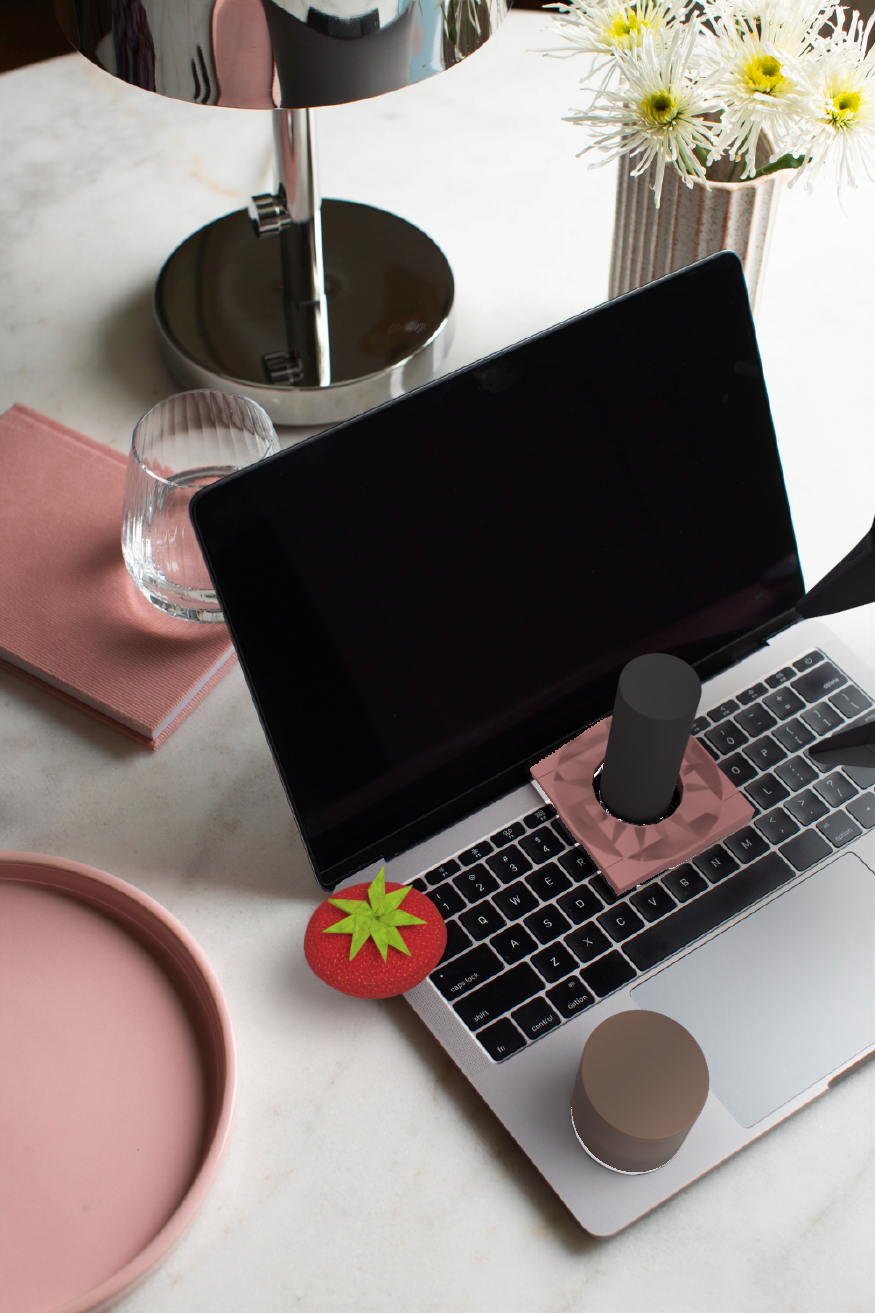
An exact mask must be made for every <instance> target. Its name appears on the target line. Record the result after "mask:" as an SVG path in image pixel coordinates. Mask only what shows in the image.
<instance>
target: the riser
mask: <svg viewBox="0 0 875 1313" xmlns="http://www.w3.org/2000/svg"><path fill="white" fill-rule="evenodd" d="M709 1072H710V1071H709V1066H708V1063H707V1059H706V1057H705V1054H704V1052H703V1050H702V1048H701V1046H700V1044H699V1043H698V1041H697V1040H696V1039H695V1037H694V1036H693V1035H692V1034H691V1032H689V1031H688V1030H687V1028H685V1027H684V1026H683V1025H681V1023H679V1022H678V1021H676V1020H674V1019H673V1018H671V1017H669V1016H667V1015H665V1014H663V1013H661V1012H656V1011H653V1010H647V1009H630V1010H625V1011H621V1012H618V1013H615V1014H613V1015H611V1016H609V1017H607V1018H606V1019H604V1020H603V1021H602V1022H600V1024H598V1025H597V1026H596V1027H595V1028H594V1029H593V1031H592V1032H591V1034H590V1035H589V1037H588V1039H587V1040H586V1042H585V1045H584V1047H583V1050H582V1053H581V1057H580V1062H579V1065H578V1070H577V1073H576V1078H575V1081H574V1086H573V1089H572V1093H571V1097H572V1100H571V1099H570V1104H571V1107H572V1108H571V1109H572V1116H573V1121H574V1125H575V1128H576V1131H577V1133H578V1135H579V1137H580V1138H581V1140H582V1141H583V1143H584V1145H585V1146H586V1147H587V1148H588V1150H589V1151H590V1152H591V1153H592V1154H593V1155H594V1156H595V1157H596V1158H598V1159H599V1160H600V1161H602V1162H603V1163H605V1164H607V1165H609V1166H611V1167H613V1168H616V1169H617V1170H621V1171H626V1172H646V1171H649V1170H653V1169H656V1168H659V1167H660V1166H662V1165H664V1164H666V1163H667V1162H668V1161H669V1160H670V1159H671V1160H672V1159H673V1158H674V1157H675V1156H676V1155H677V1153H678V1152H679V1151H680V1149H681V1147H682V1145H683V1144H684V1142H685V1141H686V1139H687V1137H688V1136H689V1133H690V1132H691V1130H692V1129H693V1127H694V1125H695V1124H696V1122H697V1121H698V1119H699V1117H700V1115H701V1114H702V1111H703V1109H704V1108H705V1106H706V1103H707V1099H708V1096H709V1092H710V1073H709ZM677 1151H678V1152H677ZM675 1154H676V1155H675ZM674 1155H675V1156H674ZM673 1156H674V1157H673ZM672 1157H673V1158H672ZM671 1160H670V1161H671ZM670 1161H669V1162H670ZM669 1162H668V1163H669ZM668 1163H667V1164H668ZM667 1164H666V1165H667Z"/></svg>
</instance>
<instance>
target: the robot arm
mask: <svg viewBox="0 0 875 1313" xmlns="http://www.w3.org/2000/svg"><path fill="white" fill-rule="evenodd" d="M873 603H875V514H874V516H873V520H872V523H871V526H870V528H869V530H868V531H867V532H866V533H865V535H864V536H862V538H861V539H860V540H859V541H858V543H857V544H856V545H854V547H853V548H852V549H851V550H850V551H849V552H848V553H847V554H846V555H845V556H844V557H843V558H842V559H841V560H840V561H839V562H838V563H837V564H836V565H834V566H833V567H832V569H830V570H829V571H828V572H827V573H826V574H825V575H824V576H823V577H822V578H821V579H820V580H819V581H817V583H815V585H814V586H813V587H811V588H810V589H809V590H808V592H806V593H805V594H804V595H803V596H802V597H801V598H800V599H799V600H798V601H797V602H796V603H795V605H794V609H795V612H796V613H797V614H798V615H799V616H800V617H801V618H802V619H804V620H809V619H814V618H819V617H826V616H830V615H831V616H832V615H835V614H838V613H842V612H846V611H849V610H852V609H855V608H859V607H862V606H866V605H870V604H873ZM807 754H808V757H810V758H811V759H812V760H813V761H815V762H816V763H817V764H821V765H830V766H831V765H833V766H844V767H852V768H853V767H854V768H864V769H865V768H866V769H875V720H872V721H869V722H867V723H864V724H861V725H857V726H855V727H852V728H850V729H847V730H844V731H842V732H838V733H836V734H833V735H830V736H828V737H827V738H824V739H822V740H821V741H819V742H816V743H815V744H812V745H811V746H809V747H808V749H807Z"/></svg>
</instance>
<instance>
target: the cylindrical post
mask: <svg viewBox="0 0 875 1313" xmlns="http://www.w3.org/2000/svg"><path fill="white" fill-rule="evenodd" d="M702 687H703V686H702V682H701V679H700V677H699V675H698V674H697V672H696V671H695V669H694V668H693V667H692V666H691V665H690V664H689V663H687V661H684V660H683V659H681V658H678V657H677V656H674V655H671V654H667V653H662V652H660V653H659V652H654V653H653V652H652V653H645V654H642V655H639V656H637V657H634V658H633V659H632V660H630V661H629V662H628V663H627V664H625V666H624V667H623V669H622V670H621V672H620V674H619V678H618V683H617V689H616V693H615V700H614V706H613V711H612V715H611V716H612V721H611V726H610V732H609V737H608V743H607V748H606V753H605V759H604V764H603V769H602V770H601V776H600V780H599V786H600V789H599V788H598V791H599V790H600V795H601V799H602V802H603V803H604V805H605V807H606V808H607V809H608V811H609V812H610V813H611V815H613V816H614V817H615V818H617V819H621V820H623V821H625V822H629V823H634V824H639V825H643V824H649V823H652V822H653V823H654V822H656V821H657V820H659V819H660V818H662V817H663V816H664V815H665V814H666V812H667V811H668V812H669V809H670V807H671V806H670V805H671V803H672V799H673V795H674V792H675V789H676V782H677V778H678V775H679V771H680V768H681V765H682V761H683V758H684V754H685V751H686V747H687V744H688V740H689V737H690V734H692V730H693V726H694V724H695V719H696V716H697V713H698V709H699V705H700V702H701V698H702V693H703V688H702ZM668 808H669V809H668ZM668 812H667V813H668ZM666 815H667V814H666ZM666 815H665V816H666Z"/></svg>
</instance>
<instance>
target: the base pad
mask: <svg viewBox="0 0 875 1313" xmlns="http://www.w3.org/2000/svg"><path fill="white" fill-rule="evenodd" d="M602 719H603V718H602ZM599 720H600V719H599ZM611 721H612V715H610V716H608V717H604V719H603V720H600V722H597V724H595V725H594V726H591V728H588V729H587V730H585V731H584V732H583V733H582V734H580V735H579V736H577V737H576V738H574V740H570V742H568V743H567V744H564V745H563V746H562V747H561V748H559V749H558V750H555V753H553V752H552V754H551V755H548V757H545V759H541V761H539V763H538V764H535V765H534V766H532V767H531V768H530V772H531V774H532V777H533V778H534V780H536V781H537V783H538V784H539V785H540V787H541V788H542V790H543V791H544V792H545V794H546V795H547V797H548V798H549V799H550V801H551V802H552V803H553V805H554V807H555V808H556V810H557V813H558V815H559V817H560V818H561V820H562V822H563V823H564V824H565V826H566V828H568V830H569V831H570V832H571V834H572V836H573V837H574V838H575V840H576V841H577V842H578V843H579V844H582V845H583V847H584V849H585V850H586V851H587V853H588V855H590V857H591V859H592V860H593V861H594V863H595V864H596V866H597V867H598V869H599V870H600V871H601V873H602V874H603V875H604V876H605V878H606V880H607V882H609V884H610V885H611V887H612V888H613V889H614V891H615V893H616V894H617V896H619V895H620V894H622V893H624V892H626V891H627V890H630V889H632V888H633V887H635V886H637V885H639V884H640V883H643V882H645V881H646V880H648V879H650V878H652V877H654V876H655V875H657V874H659V873H661V872H663V871H664V870H667V869H668V868H673V867H676V866H677V865H679V864H681V863H683V862H685V861H686V860H688V859H690V858H692V857H693V856H695V855H697V856H699V855H700V854H701V853H702V852H703V851H704V850H705V849H706V848H708V847H710V846H712V845H713V844H715V843H717V842H718V841H720V840H722V839H723V838H725V837H726V836H728V835H730V834H732V833H734V832H735V831H737V830H738V829H741V828H742V827H744V826H746V825H747V824H749V823H750V822H751V821H752V818H753V816H754V813H755V811H756V809H755V808H754V807H753V805H751V803H750V802H749V801H748V800H747V798H746V797H744V795H743V794H742V793H741V792H740V790H739V789H738V788H737V787H736V786H735V784H734V783H733V782H732V781H731V780H730V778H728V776H727V775H726V774H725V772H723V771H722V769H720V767H719V766H718V765H717V762H716V761H715V758H713V756H712V755H711V754H710V753H709V752H708V750H706V749H705V748H704V746H703V745H702V744H701V742H700V741H698V739H697V738H696V737H695V736H694V735H692V733H690V737H689V740H688V744H687V747H686V751H685V754H684V758H683V761H682V765H681V768H680V771H679V775H678V778H677V782H676V783H677V787H678V790H679V793H680V796H681V798H680V797H679V802H680V805H679V804H678V806H677V808H676V809H675V811H674V812H673V813H672V815H670V816H667V817H666V818H665V819H662V820H661V821H660V822H658V823H657V824H651V825H644V826H638V825H633V824H628V823H624V822H621V821H620V820H618V819H617V818H615V817H613V816H612V815H610V814H608V813H607V812H606V811H605V810H604V809H603V807H602V806H601V805H600V803H599V800H597V797H596V793H595V789H594V785H592V784H594V780H595V779H594V774H595V773H596V772H597V771H598V769H599V768H600V767H601V765H602V764H603V763H604V759H605V753H606V748H607V743H608V737H609V732H610V726H611ZM593 779H594V780H593ZM677 787H676V788H677ZM721 838H722V839H721ZM719 839H720V840H719ZM714 842H715V843H714ZM712 843H713V844H712ZM709 845H710V846H709ZM707 846H708V847H707ZM701 851H702V852H701ZM700 852H701V853H700ZM699 853H700V854H699ZM698 854H699V855H698ZM695 857H696V856H695ZM692 859H693V858H692ZM690 860H691V859H690ZM685 863H686V862H685ZM683 864H684V863H683ZM667 871H668V870H667Z"/></svg>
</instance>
